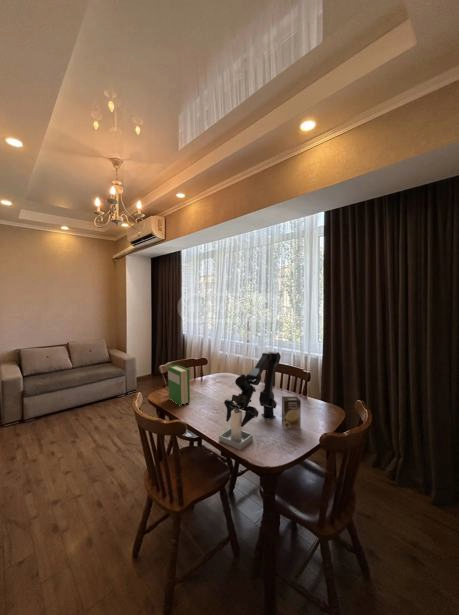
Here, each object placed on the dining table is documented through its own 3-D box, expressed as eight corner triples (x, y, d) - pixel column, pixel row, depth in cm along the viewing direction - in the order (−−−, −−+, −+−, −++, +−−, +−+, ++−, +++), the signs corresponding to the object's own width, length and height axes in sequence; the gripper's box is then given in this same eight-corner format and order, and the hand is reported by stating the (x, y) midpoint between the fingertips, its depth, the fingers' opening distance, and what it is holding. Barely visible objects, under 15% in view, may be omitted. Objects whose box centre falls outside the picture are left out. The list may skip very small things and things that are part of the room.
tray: (232, 432, 134) (232, 426, 134) (252, 440, 126) (252, 434, 126) (219, 441, 125) (218, 435, 125) (240, 450, 117) (239, 444, 117)
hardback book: (189, 404, 172) (189, 369, 171) (180, 407, 167) (179, 371, 167) (178, 396, 186) (177, 364, 185) (168, 399, 181) (167, 366, 180)
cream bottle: (230, 436, 129) (231, 406, 128) (241, 436, 129) (241, 406, 128) (230, 442, 123) (231, 411, 123) (241, 442, 123) (242, 411, 123)
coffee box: (284, 430, 135) (284, 400, 135) (281, 424, 142) (281, 396, 141) (301, 429, 136) (300, 400, 135) (297, 423, 142) (297, 395, 141)
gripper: (225, 384, 134) (212, 412, 126) (255, 391, 122) (242, 422, 114) (234, 394, 140) (222, 421, 132) (263, 402, 129) (252, 432, 120)
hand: (234, 424), depth 124 cm, fingers open, 9 cm apart
